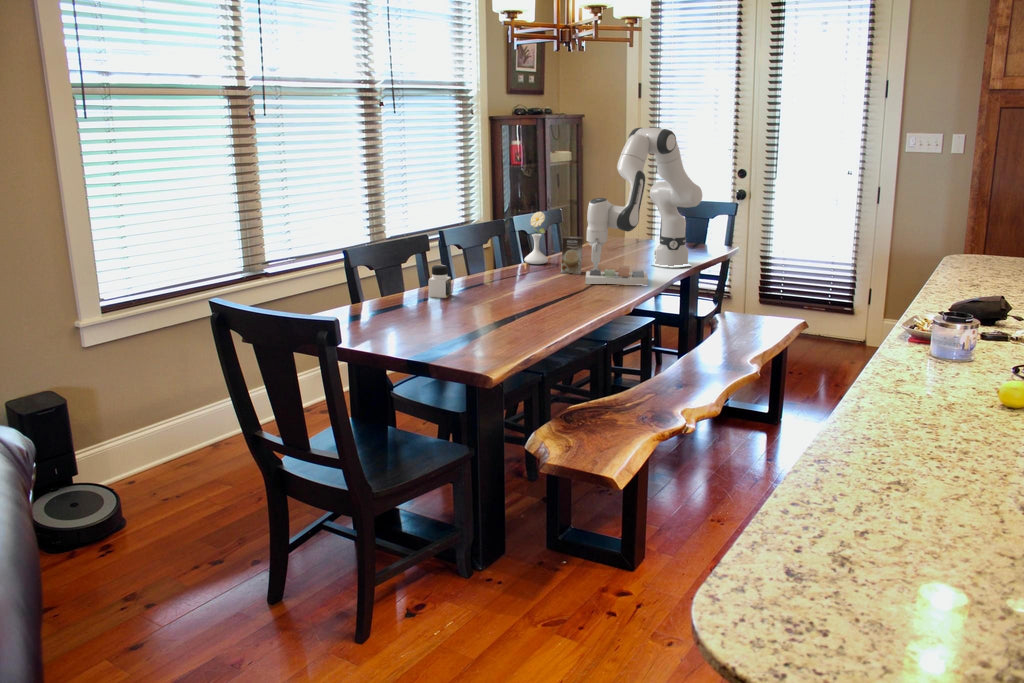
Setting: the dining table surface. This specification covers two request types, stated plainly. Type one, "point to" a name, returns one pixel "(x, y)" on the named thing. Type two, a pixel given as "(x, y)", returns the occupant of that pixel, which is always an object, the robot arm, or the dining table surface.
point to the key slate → (638, 273)
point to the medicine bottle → (439, 282)
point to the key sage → (609, 272)
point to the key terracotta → (623, 271)
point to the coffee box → (571, 254)
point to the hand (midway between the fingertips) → (595, 269)
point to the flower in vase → (537, 241)
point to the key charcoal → (595, 272)
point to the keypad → (616, 279)
